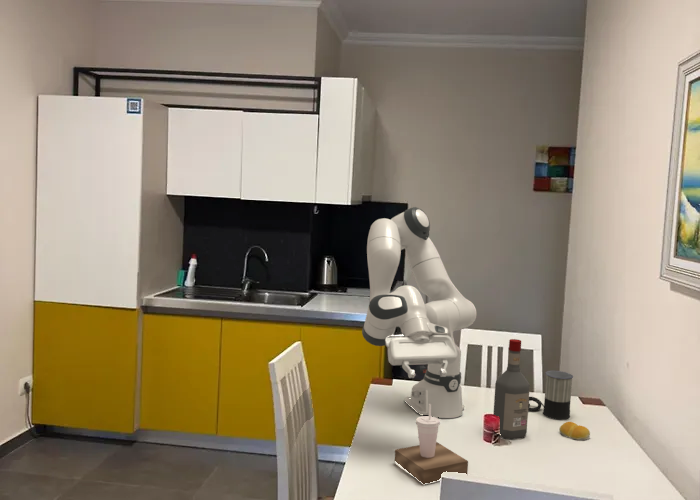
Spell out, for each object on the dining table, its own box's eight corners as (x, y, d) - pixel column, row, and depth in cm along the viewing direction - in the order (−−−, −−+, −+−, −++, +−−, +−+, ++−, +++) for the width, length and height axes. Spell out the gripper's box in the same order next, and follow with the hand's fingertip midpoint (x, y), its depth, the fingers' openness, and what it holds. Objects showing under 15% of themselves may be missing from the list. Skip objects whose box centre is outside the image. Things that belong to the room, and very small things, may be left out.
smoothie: (432, 461, 163) (433, 409, 162) (411, 456, 167) (411, 404, 166) (443, 453, 169) (444, 402, 168) (422, 448, 172) (422, 398, 171)
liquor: (530, 437, 195) (536, 343, 192) (506, 440, 191) (512, 344, 189) (512, 427, 203) (518, 336, 201) (488, 430, 200) (494, 337, 197)
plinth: (394, 463, 171) (395, 449, 171) (436, 455, 178) (436, 442, 177) (423, 485, 159) (424, 469, 158) (467, 475, 165) (468, 461, 165)
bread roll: (581, 443, 192) (582, 430, 192) (555, 434, 199) (556, 422, 199) (595, 437, 198) (596, 425, 197) (569, 428, 204) (569, 417, 204)
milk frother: (573, 421, 211) (577, 378, 210) (526, 418, 212) (529, 376, 211) (561, 407, 226) (564, 367, 224) (517, 405, 226) (520, 365, 225)
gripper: (386, 329, 178) (395, 371, 170) (452, 328, 184) (465, 369, 175) (381, 340, 183) (390, 383, 174) (445, 339, 188) (457, 380, 179)
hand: (428, 376), depth 175 cm, fingers open, 8 cm apart
